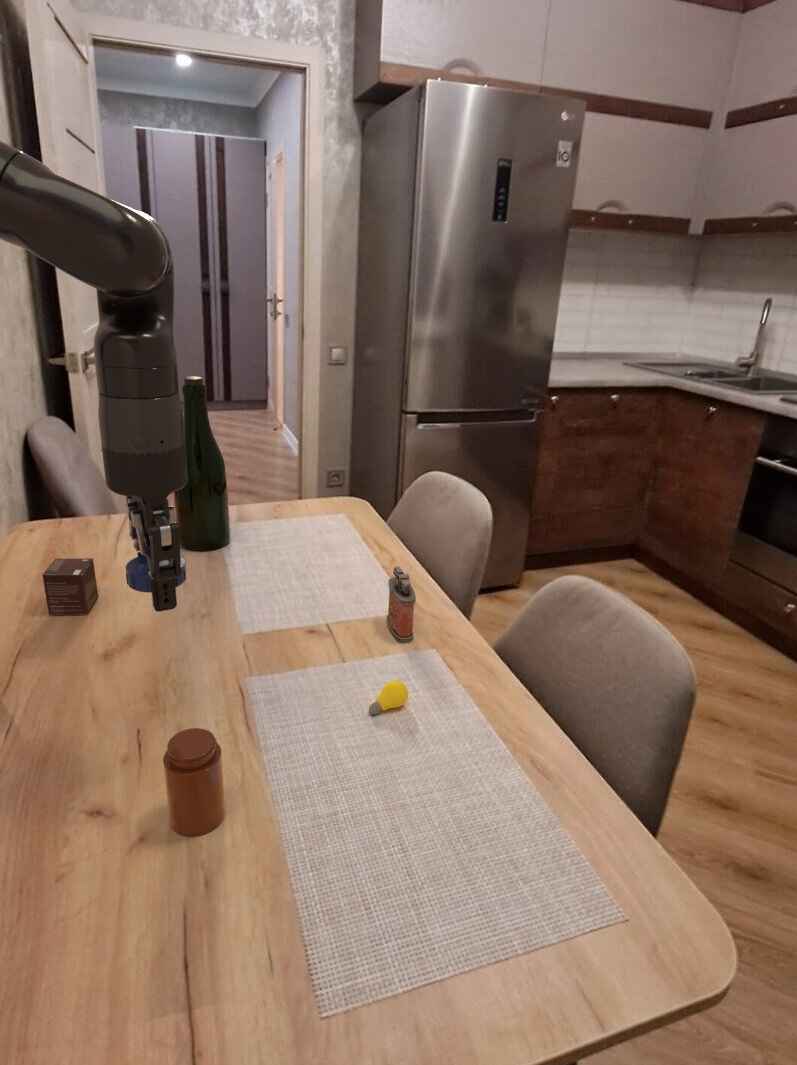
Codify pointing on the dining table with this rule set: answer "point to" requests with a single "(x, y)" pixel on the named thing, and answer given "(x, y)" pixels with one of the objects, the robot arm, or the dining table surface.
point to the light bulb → (390, 697)
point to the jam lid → (139, 574)
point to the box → (70, 586)
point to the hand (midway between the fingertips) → (158, 594)
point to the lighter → (401, 606)
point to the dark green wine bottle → (201, 477)
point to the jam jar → (194, 782)
